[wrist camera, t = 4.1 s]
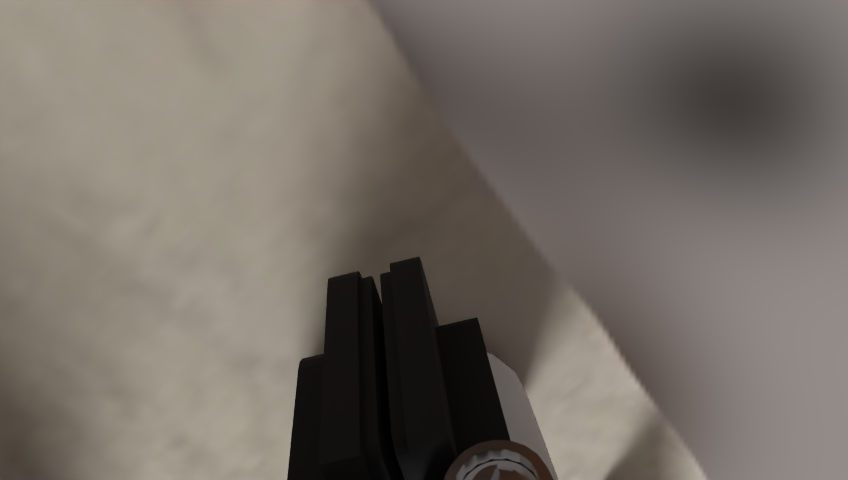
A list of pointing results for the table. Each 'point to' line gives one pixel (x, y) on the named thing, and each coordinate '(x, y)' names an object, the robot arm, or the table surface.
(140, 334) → the table surface
